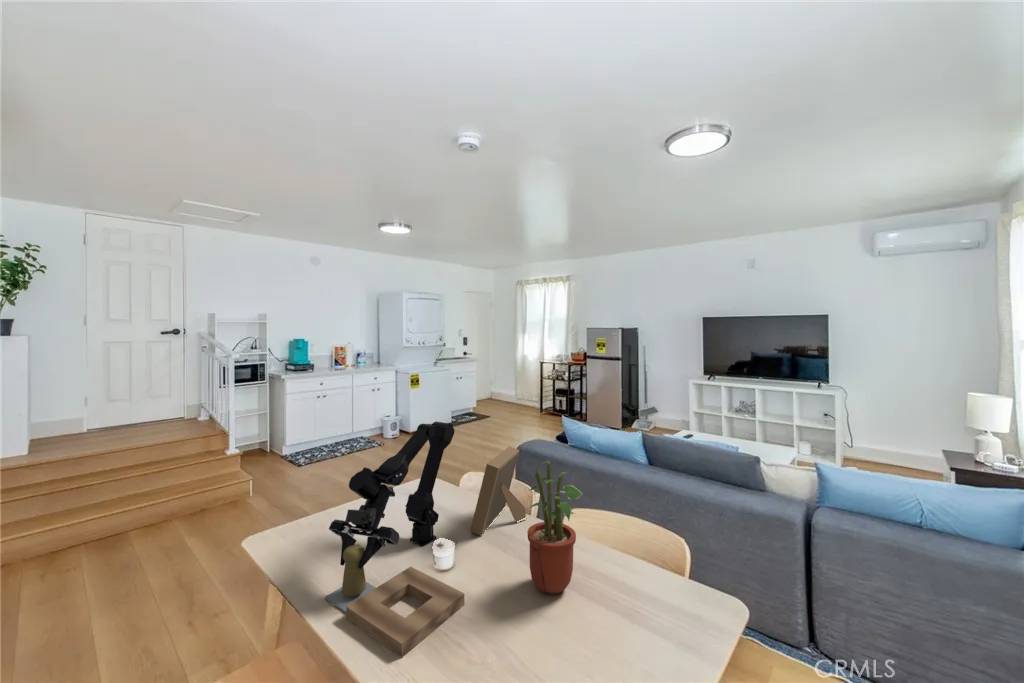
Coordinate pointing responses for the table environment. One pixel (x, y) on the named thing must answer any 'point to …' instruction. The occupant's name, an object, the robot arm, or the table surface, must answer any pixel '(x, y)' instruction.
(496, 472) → the photo frame
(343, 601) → the grey mat
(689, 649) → the table surface
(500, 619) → the table surface
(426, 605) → the walnut holder block
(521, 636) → the table surface
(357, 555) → the olive green pawn
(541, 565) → the potted plant
